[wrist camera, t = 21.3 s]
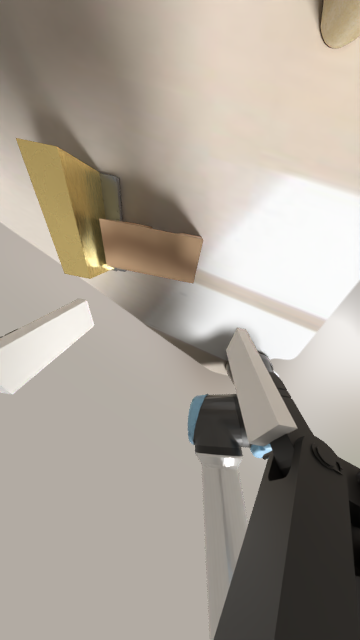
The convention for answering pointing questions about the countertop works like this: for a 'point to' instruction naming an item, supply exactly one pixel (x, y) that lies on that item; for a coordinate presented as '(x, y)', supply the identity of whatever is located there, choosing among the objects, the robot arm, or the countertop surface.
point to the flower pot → (340, 22)
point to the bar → (68, 206)
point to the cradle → (111, 201)
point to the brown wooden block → (150, 250)
